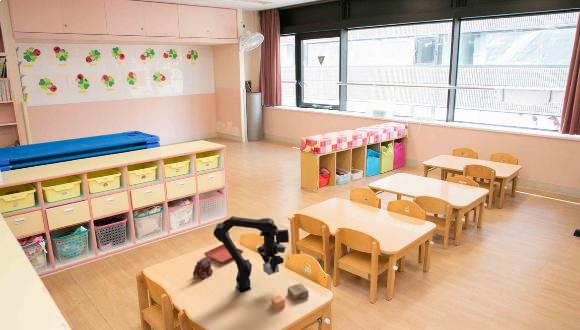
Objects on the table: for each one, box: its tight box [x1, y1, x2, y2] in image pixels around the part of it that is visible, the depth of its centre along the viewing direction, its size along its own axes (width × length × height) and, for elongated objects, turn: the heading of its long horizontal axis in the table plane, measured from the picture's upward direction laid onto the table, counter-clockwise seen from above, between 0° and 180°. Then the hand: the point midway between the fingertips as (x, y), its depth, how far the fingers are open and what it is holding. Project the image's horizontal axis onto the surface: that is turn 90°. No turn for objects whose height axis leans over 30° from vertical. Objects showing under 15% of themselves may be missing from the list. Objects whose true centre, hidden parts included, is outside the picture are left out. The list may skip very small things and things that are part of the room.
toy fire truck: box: [192, 256, 214, 281], centre depth 234 cm, size 7×12×10 cm, turn 143°
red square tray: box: [203, 243, 244, 265], centre depth 256 cm, size 18×18×3 cm
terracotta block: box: [270, 294, 286, 311], centre depth 205 cm, size 5×5×4 cm
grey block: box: [262, 262, 280, 276], centre depth 217 cm, size 6×6×4 cm
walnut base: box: [287, 283, 309, 302], centre depth 213 cm, size 8×8×4 cm
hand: (270, 269), depth 218 cm, fingers closed on grey block, 6 cm apart
